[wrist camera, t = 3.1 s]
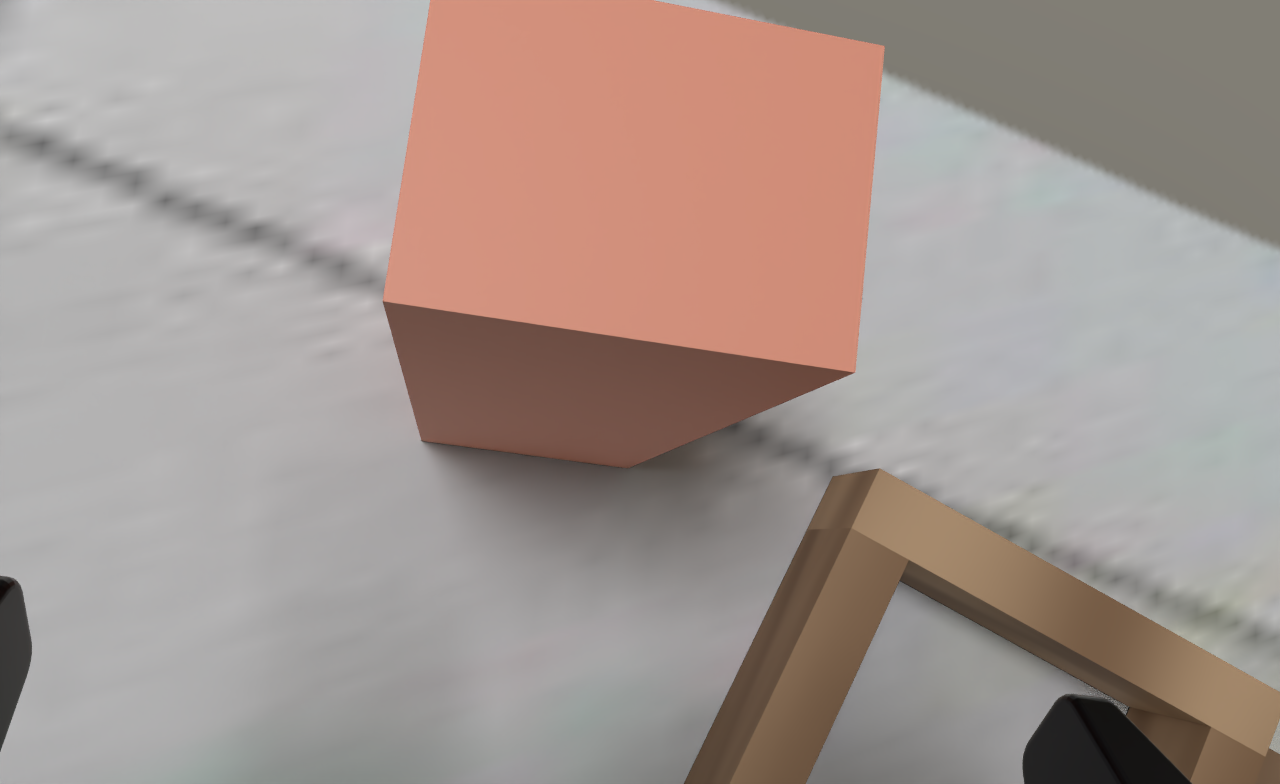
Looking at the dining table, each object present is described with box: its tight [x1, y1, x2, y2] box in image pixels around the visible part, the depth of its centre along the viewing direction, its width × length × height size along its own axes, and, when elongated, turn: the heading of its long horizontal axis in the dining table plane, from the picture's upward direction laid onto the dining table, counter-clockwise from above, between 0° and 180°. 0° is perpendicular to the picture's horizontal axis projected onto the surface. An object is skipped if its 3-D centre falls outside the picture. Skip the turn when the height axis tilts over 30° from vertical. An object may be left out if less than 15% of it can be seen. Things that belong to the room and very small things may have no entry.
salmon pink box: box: [383, 0, 884, 468], centre depth 16 cm, size 3×4×12 cm
